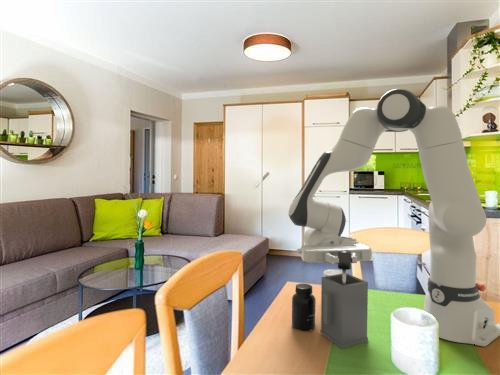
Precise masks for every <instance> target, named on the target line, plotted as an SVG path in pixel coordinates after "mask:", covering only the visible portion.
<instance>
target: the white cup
mask: <svg viewBox="0 0 500 375" xmlns="http://www.w3.org/2000/svg"><path fill="white" fill-rule="evenodd" d="M337 274H342V269H336V268H335V269H332V268H331V269H325V270H324V271H323V277H326V276H331V275H337Z"/></svg>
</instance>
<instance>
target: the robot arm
mask: <svg viewBox="0 0 500 375" xmlns="http://www.w3.org/2000/svg"><path fill="white" fill-rule="evenodd" d="M406 131H410V132H411V133H412V134H413V135H414V138H415V141H416V146H417V150H418V151H417V152H418V155H419V161H420V164H421V165H420V166H421V171H422V175H423V178H424V182H425V185H426V188H427V191H428V194H429V197H430V203H429V205H428V235H429V248H430V249H429V252H430V256H429V257H430V258H429V259H430V260H429V261H430V262H429V277H428V279H427V284H426V285H427V293H425V297H424V302H423V303H424V305H423V310H424V311H426V312H428V313H430V314H432V315H433V316H434V317H435V318H436V320H437V321H438V323H439V337H438V338H440V339H443V340H446V341H450V342H455V343H460V344H461V343H463V344H471V345H474V344H475V346H480V347H487V346H488V345H489V344H491V343H492V342H493V341H494V340H496V339H498V337H500V323H499V322H496V321H495V310H494V309H493V307H492V306H491V305H489V304H488V303H487V302H486V301H485V300H483V299H482V298H481V295H480V292H485V290H486V285H485V284H483V283H479V282H476V281H477V261H478V260H477V258H478V257H477V253H476V249H475V244H474V237H475V236H477V235H478V234H480V233H481V232H482V231H483V229H485V227H486V223H487V215H486V212H485V209H484V207H483V205H482V201H481V198H480V195H479V193H478V189H477V187H476V184H475V182H474V179H473V177H472V174H471V170H470V168H469V163H468V159H467V154H466V149H465V145H464V140H463V136H462V133H461V129H460V125H459V123H458V120H457V118H456V116H455V114H454V111H453V110H452V109H451V108H449V107H447V106H445V105H444V106H443V105H435V106H429V107H427V106H426V104H424V103H423V102H422V100H421V99H420V98H418V96H417V95H416V94H415V93H413V92H411V91H410V90H408V89H403V88H395V89H391V90H389V91H387V92H386V93H384V94H383V95H382V96H381V97H380V99H379V101H378V102H377V105H376V108H370V107H359V108H356V109H355V110H353V111H352V112H351V114H350V116H349V118H348V119H347V121H346V122H345V125H344V126H343V129H342V131H341V134H340V136H339V138H338V140H337V142H336V144H335V145H334V147H333V146H332V149H330V150H328V151H324V152H323V153H322V154H321V155H320V156H319V158H318V160H317V161H316V163H315V164H314V166H313V168H312V169H311V171H310V173H309V175H308V176H307V178H306V180H305V181H304V184H303V185H302V187H301V188H300V190H299V191H298V193H297V195H296V196H295V197H294V199H293V200H292V202H291V204H290V205H289V209H288V217H289V219H290V221H291V222H292V223H293V225H295V226H298V227H303V228H307V230H306V231H305V232H304V234H303V243H304V244H303V245H301V247H300V248H297V249H296V252H297V253H298V254H300V255H301V256H300V257H301V260H302V262H304V263H309V264H310V263H311V264H314V263H324V264H329V265H330V264H333V265H334V264H335V265H336V264H337V265H338V264H339V257H338V251H339V250H348V251H351V264H357V263H358V262H369V261H372V258H373V256H372V255H373V251H372V248H371V247H370V246H369V245H366V243H363V242H362V241H357V239H356V238H355V237H348V236H342V235H343V232H344V230H345V226H346V222H347V219H346V215H345V212H344V209H343V208H342V207H341V206H340V205H336V204H333V203H331V202H325V201H323V200H318V199H315V198H314V197H315V195H316V194H317V191H318V190H319V188H320V186H321V185H322V183H323V181H324V180H325V178H326V177H328V176H329V175H331V174H335V173H341V172H346V173H347V172H354V171H357V170H360V169H362V168H363V167H365V166H366V165H367V164H368V162H369V161H370V159H371V157H372V155H373V153H374V149H375V148H376V145H377V142H378V141H379V139H380V136H381V135H382V134H384V132H385V133H386V132H387V133H390V132H391V133H392V132H393V133H403V132H406Z"/></svg>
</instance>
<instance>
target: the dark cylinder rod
mask: <svg viewBox="0 0 500 375" xmlns="http://www.w3.org/2000/svg"><path fill="white" fill-rule="evenodd" d="M338 257H339V264H337V269H338V270H342V285H346V273H347V270H351V269H352V263H351V251H348V250H339V251H338Z"/></svg>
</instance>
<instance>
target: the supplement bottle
mask: <svg viewBox="0 0 500 375" xmlns="http://www.w3.org/2000/svg"><path fill="white" fill-rule="evenodd" d="M291 325H292V327H293V328H294V329H296V330H298V331H303V332H307V331H308V332H310V331H311V330H313V329H315V327H316V297H315V295H314V294H313V285H311V284H309V283H298V284H295V293H294V294H293V295H292V297H291Z"/></svg>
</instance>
